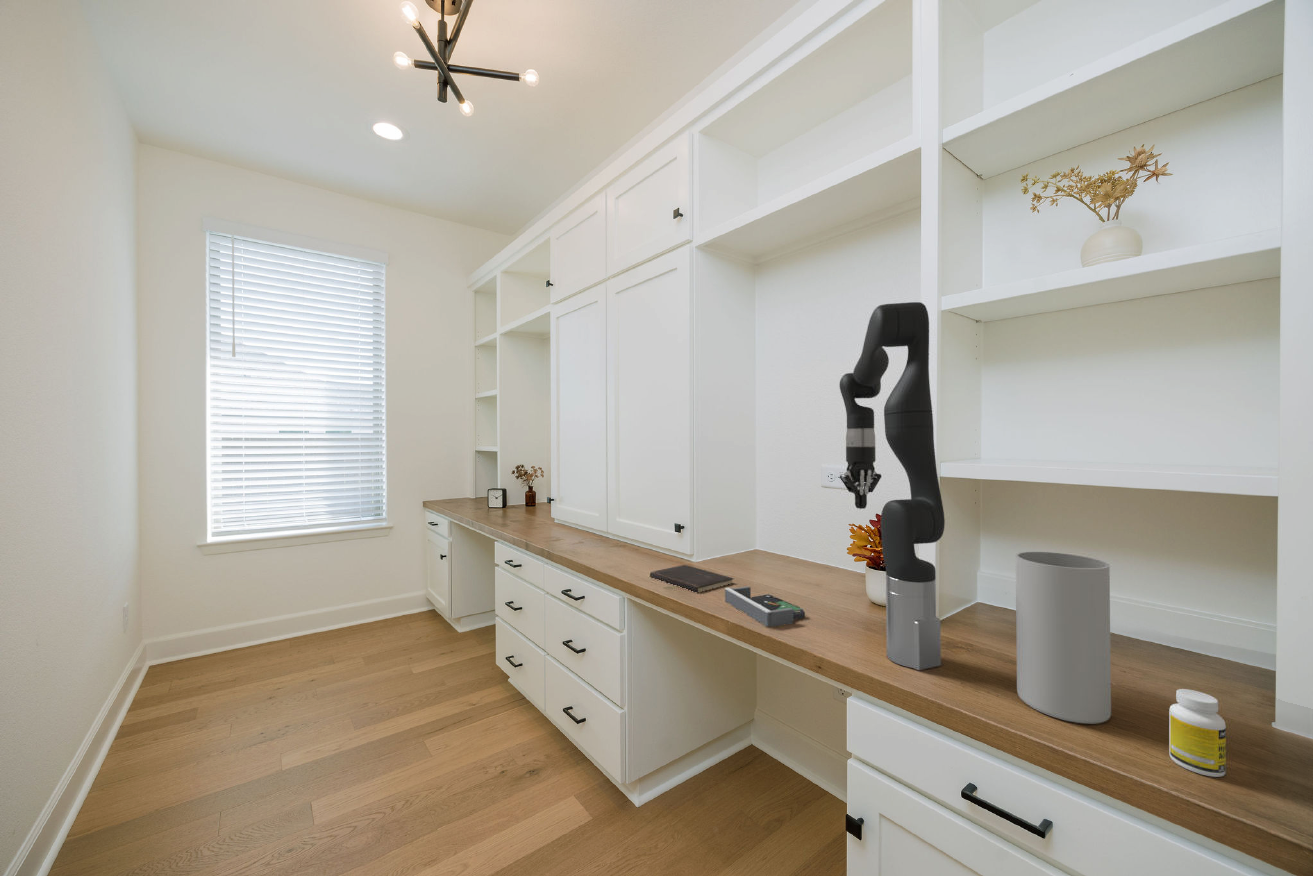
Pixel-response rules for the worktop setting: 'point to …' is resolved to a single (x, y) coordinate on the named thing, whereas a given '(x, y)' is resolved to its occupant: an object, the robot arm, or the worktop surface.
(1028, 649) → the cylinder vase
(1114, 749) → the worktop surface
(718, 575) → the hardcover book
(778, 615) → the dock
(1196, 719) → the supplement bottle
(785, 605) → the disk drive
